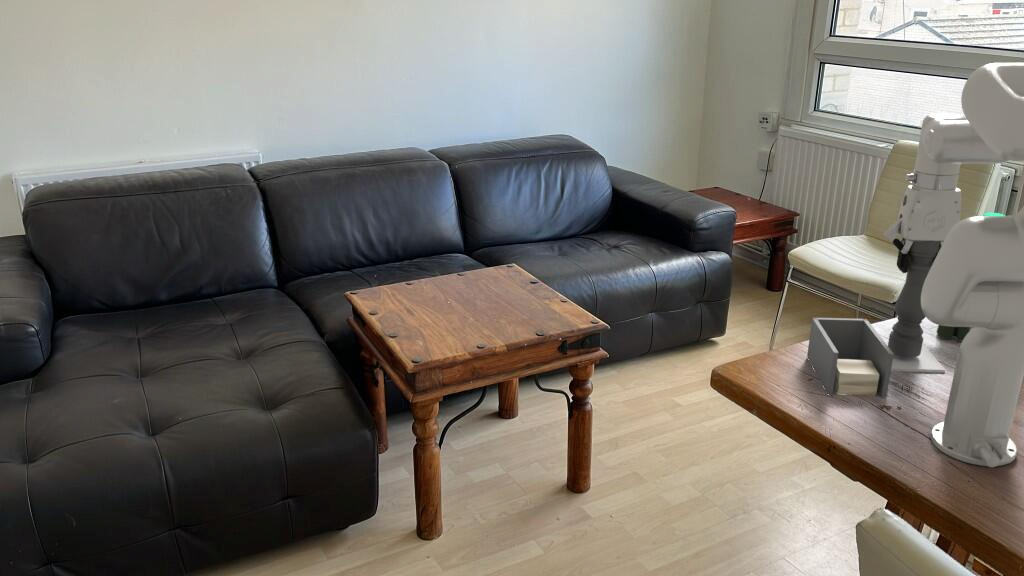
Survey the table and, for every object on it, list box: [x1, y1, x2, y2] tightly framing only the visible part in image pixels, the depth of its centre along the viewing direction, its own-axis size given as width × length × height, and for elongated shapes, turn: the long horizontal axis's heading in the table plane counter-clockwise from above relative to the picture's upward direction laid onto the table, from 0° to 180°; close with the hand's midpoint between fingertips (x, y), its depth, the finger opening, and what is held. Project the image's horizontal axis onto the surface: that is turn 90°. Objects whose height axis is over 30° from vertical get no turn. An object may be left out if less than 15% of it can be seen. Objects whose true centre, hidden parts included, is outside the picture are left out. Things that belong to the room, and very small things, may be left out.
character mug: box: [936, 325, 971, 342], centre depth 173 cm, size 11×7×13 cm, turn 69°
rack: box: [806, 317, 894, 398], centre depth 158 cm, size 16×11×9 cm, turn 175°
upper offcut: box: [835, 359, 879, 387], centre depth 154 cm, size 6×7×2 cm
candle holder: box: [887, 241, 940, 357], centre depth 161 cm, size 6×6×25 cm
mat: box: [885, 342, 946, 374], centre depth 166 cm, size 12×12×1 cm
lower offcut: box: [833, 379, 878, 396], centre depth 155 cm, size 6×7×2 cm
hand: (918, 270), depth 159 cm, fingers closed on candle holder, 5 cm apart
